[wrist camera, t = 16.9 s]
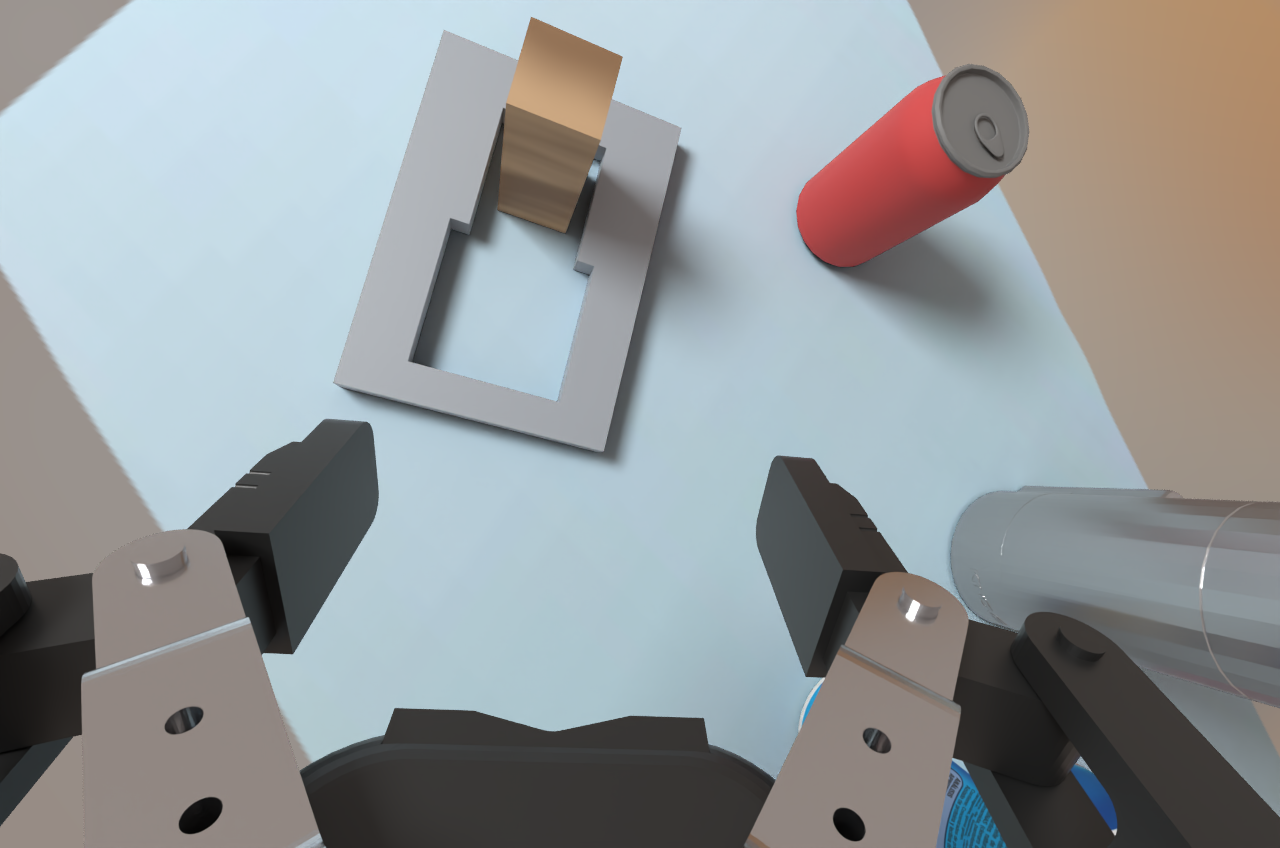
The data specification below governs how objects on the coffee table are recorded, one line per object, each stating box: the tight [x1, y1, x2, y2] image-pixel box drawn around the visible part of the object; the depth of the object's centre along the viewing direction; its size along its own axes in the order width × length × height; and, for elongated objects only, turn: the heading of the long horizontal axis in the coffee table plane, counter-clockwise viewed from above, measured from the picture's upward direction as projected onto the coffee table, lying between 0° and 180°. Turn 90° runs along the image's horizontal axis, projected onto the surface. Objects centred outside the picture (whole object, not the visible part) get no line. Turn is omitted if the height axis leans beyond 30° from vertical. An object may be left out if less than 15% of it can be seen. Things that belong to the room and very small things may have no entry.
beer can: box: [796, 64, 1029, 267], centre depth 33 cm, size 7×7×12 cm
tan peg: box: [497, 17, 623, 233], centre depth 29 cm, size 4×4×10 cm
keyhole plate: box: [333, 30, 681, 452], centre depth 32 cm, size 20×14×2 cm
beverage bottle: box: [798, 678, 1117, 848], centre depth 27 cm, size 8×8×20 cm
